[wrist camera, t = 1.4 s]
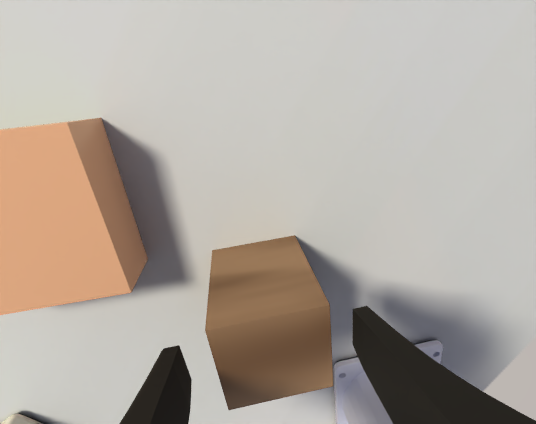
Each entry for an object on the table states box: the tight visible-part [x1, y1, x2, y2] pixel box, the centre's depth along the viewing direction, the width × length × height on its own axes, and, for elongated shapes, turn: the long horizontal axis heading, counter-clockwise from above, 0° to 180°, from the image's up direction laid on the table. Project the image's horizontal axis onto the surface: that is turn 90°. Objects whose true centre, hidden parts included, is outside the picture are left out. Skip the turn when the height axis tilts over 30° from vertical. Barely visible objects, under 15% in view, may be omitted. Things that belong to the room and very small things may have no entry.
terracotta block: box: [0, 118, 148, 315], centre depth 11 cm, size 7×7×3 cm
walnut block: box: [205, 236, 333, 410], centre depth 13 cm, size 4×4×6 cm
